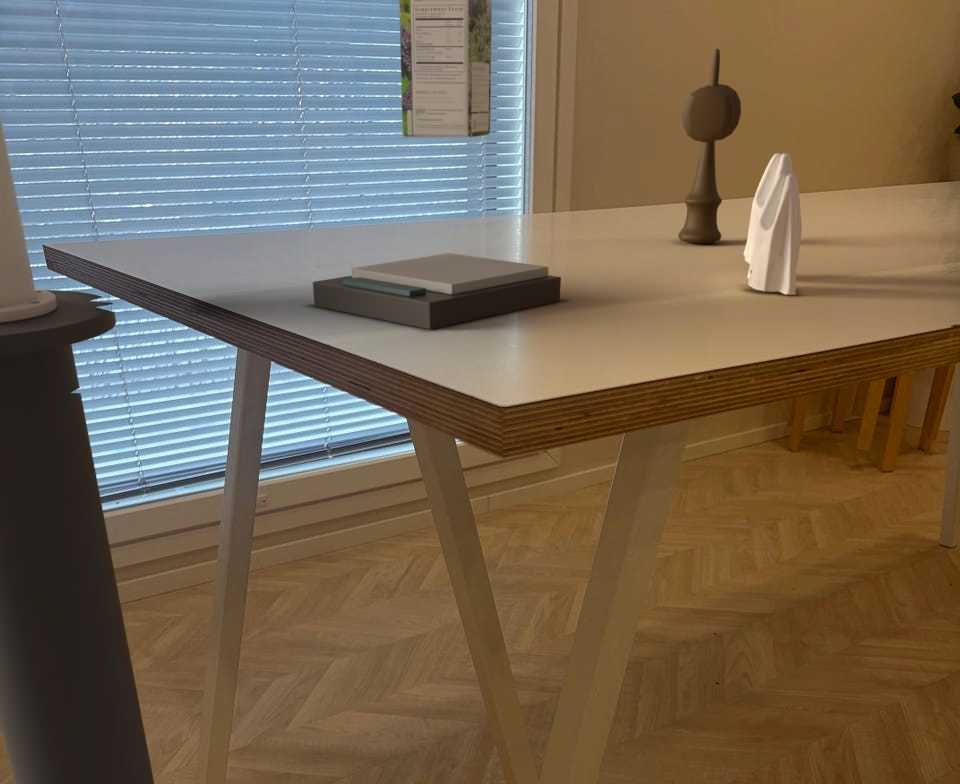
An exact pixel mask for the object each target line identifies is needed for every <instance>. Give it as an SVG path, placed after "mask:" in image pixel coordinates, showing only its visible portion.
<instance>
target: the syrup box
mask: <svg viewBox="0 0 960 784" xmlns="http://www.w3.org/2000/svg"><path fill="white" fill-rule="evenodd" d="M492 1H493V0H399V1H398V2H399V40H400V41H399V44H400V77H401V78H400V85H401V86H400V88H401V119H402V120H401V123H402V126H401V132H402V133H401V134H402V136H403V137H404V138H418V139H420V138H423V139H424V138H425V139H427V138H431V139H432V138H433V139H434V138H439V139H440V138H441V139H442V138H446V139H447V138H476V137H483V136H488V135H490V133H491V95H492V94H491V93H492V91H491V90H492V89H491V88H492V87H491V86H492V85H491V84H492V83H491V80H492V79H491V77H492V13H493V12H492V11H493V10H492V9H493V8H492V6H493V5H492V4H493V3H492Z"/></svg>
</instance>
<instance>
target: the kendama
mask: <svg viewBox="0 0 960 784" xmlns="http://www.w3.org/2000/svg"><path fill="white" fill-rule="evenodd" d="M720 66H721V51H720V49H719V48H716V49H715V50H714V52H713V56H712V63H711V70H710V71H711V72H710V79H709V84H707V85H705V86H702V87H701V86H700V87H699V88H697V89H696V90H694V91H692V92H691V93H690V94H689V96H688V97H687V99H686V101H685V102H684V105H683V110H682V113H681V117H682V127H683V129H684V131H685V133H686V135H687V136H688V137H689V138H690V139H692V140H693V141H695V142H700V143H701V147H700V153H699V157H698V162H697V166H696V171H695V176H694V179H693V183H692V186H691V189H690V191H689V193H688V195H686V197H685V198H684V204H685V205H686V216H685V222H684V225H683V227H682V228H681V230H680V231H679V232H678V235H677V236H678V239H679V240H680V241H681V242H685V243H688V244H689V243H690V244H713V243H716V242H718V241H720V240H721V239H722V233H721V232H720V230H719V227H718V210H719V207H720V205H721V204H722V203H723V200H722V199H723V198H721V196H720V195H719V193H718V188H717V187H718V186H717V177H716V176H717V175H716V142H717V141H723V140H724V139H726V138H728V137H730V136H731V135H733V133H734V131H735V130H736V128H737V127H738V125H739V122H740V119H741V115H742V104H741V103H742V102H741V99H740V97H739V94H738V92H737V91H736V90H735V89H734V88H733V87H731V86H729V85H728V84H724V83H723V84H722V83H719V81H720V68H721V67H720Z"/></svg>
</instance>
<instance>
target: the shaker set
mask: <svg viewBox="0 0 960 784" xmlns="http://www.w3.org/2000/svg"><path fill="white" fill-rule="evenodd" d="M793 169H794V167H793V162H792V157H791V155H790V154H789V153H787V152H783V153H782V154H781V153H779V152H776V153H775V154H773V156H772V157H771V159H770V160H769V162H768V164H767V166H766V167H765V170H764V172H763V174H762V177H761V179H760V181H759V184H758V186H757V188H756V191H755V194H754V197H753V201H752V205H751V212H750V218H749V225H748V233H747V240H746V244H745V248H744V251H743V256H744V261H745V262H746V263H747V264H748V265H749V268H748V272H747V275H746V279H748V283H747V286H749V287H750V288H752V290H756V291H757V290H758V291H761V292H762V291H763V292H764V293H765V292H769V293H770V292H771V293H772V292H773V293H774V292H778V293H781V294H783V295H786V296H787V295H788V296H789V295H791V296H793V295H794V296H795V295H797V293H796V289H797V288H796V285H797V267H798V261H799V255H800V247H801V239H802V230H803V225H802V224H803V223H802V213H801V200H800V191H799V190H800V189H799V183H798V179H797V177H796V175H795V174H794V170H793Z"/></svg>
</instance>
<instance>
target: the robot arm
mask: <svg viewBox="0 0 960 784" xmlns="http://www.w3.org/2000/svg"><path fill="white" fill-rule="evenodd" d="M14 181H15V180H14V177H13V172H12V166H11V161H10V157H9V151H8V146H7V142H6V136H5V131H4V126H3V121H2V117H1V115H0V324H2V323H9V322H16V321H22V320H27V319H32V318H35V317H39V316H43V315H46V314H48V313H51V312H52V311H54V310H55V309H56V308H57V302H56V296H55V295H54V294H53V293H52V292H49V291H46V290H47V289H41V288H36V286H35V281H34V276H33V272H32V266H31V261H30V257H29V252H28V247H27V242H26V237H25V232H24V226H23V221H22V217H21V211H20V206H19V201H18V197H17V191H16V187H15V182H14Z"/></svg>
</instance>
